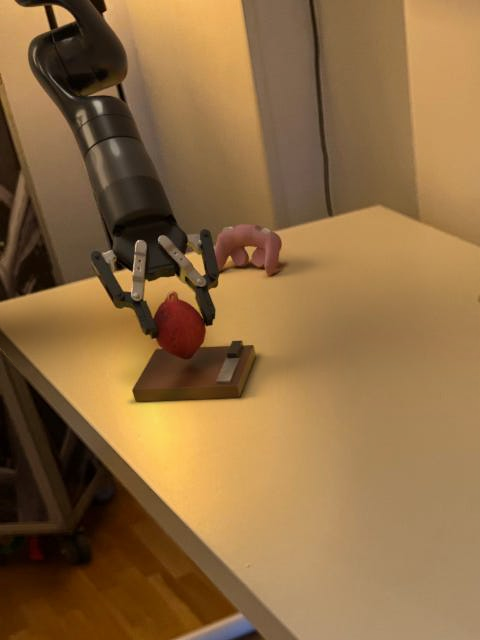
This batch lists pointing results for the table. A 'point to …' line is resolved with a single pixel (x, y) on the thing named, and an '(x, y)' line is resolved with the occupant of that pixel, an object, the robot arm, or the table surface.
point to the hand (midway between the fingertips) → (182, 328)
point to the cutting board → (196, 374)
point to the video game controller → (248, 235)
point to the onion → (179, 327)
